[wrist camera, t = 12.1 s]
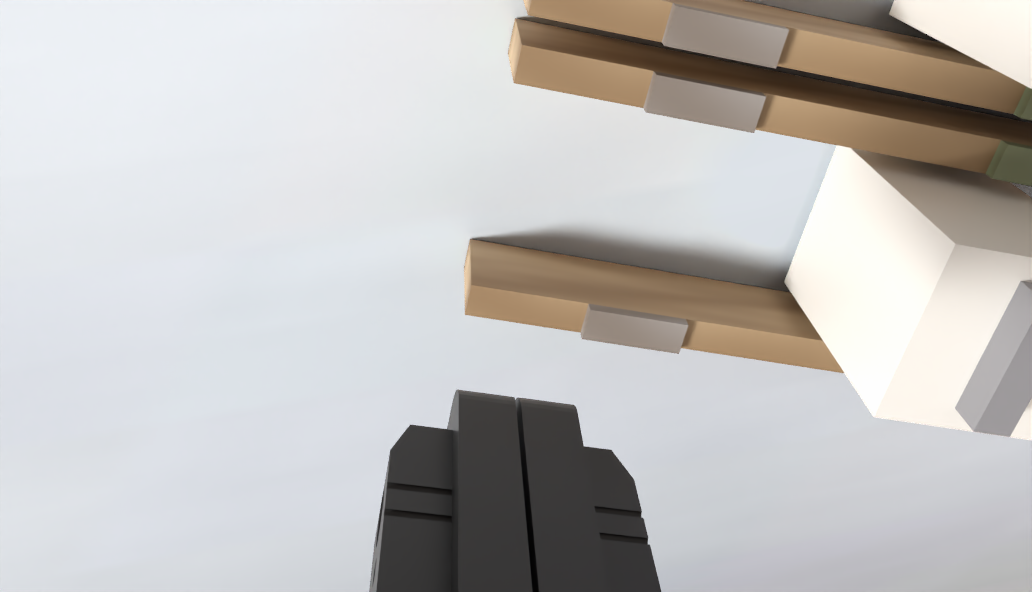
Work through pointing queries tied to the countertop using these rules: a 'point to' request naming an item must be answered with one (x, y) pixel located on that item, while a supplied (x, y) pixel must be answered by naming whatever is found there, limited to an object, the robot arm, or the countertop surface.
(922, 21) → the tab
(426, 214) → the countertop surface
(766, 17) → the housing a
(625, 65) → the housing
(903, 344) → the tab
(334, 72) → the countertop surface
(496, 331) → the countertop surface
